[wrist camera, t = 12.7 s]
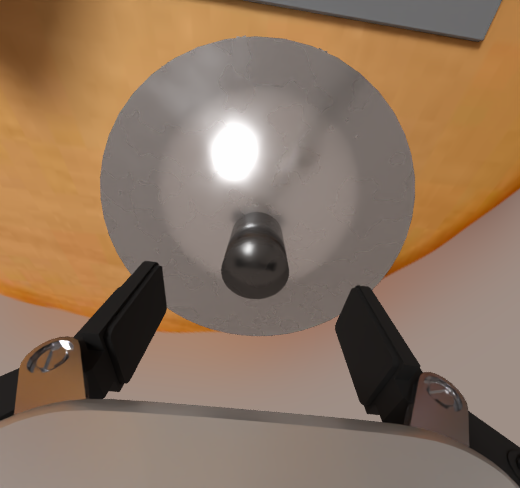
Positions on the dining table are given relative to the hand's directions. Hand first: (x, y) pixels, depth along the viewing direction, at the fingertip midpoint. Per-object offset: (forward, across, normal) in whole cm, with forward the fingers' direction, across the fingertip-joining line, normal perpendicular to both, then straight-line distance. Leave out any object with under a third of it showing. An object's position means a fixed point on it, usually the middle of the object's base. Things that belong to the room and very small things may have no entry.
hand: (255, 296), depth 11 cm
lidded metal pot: (+15, 0, 0) cm, 15 cm away
